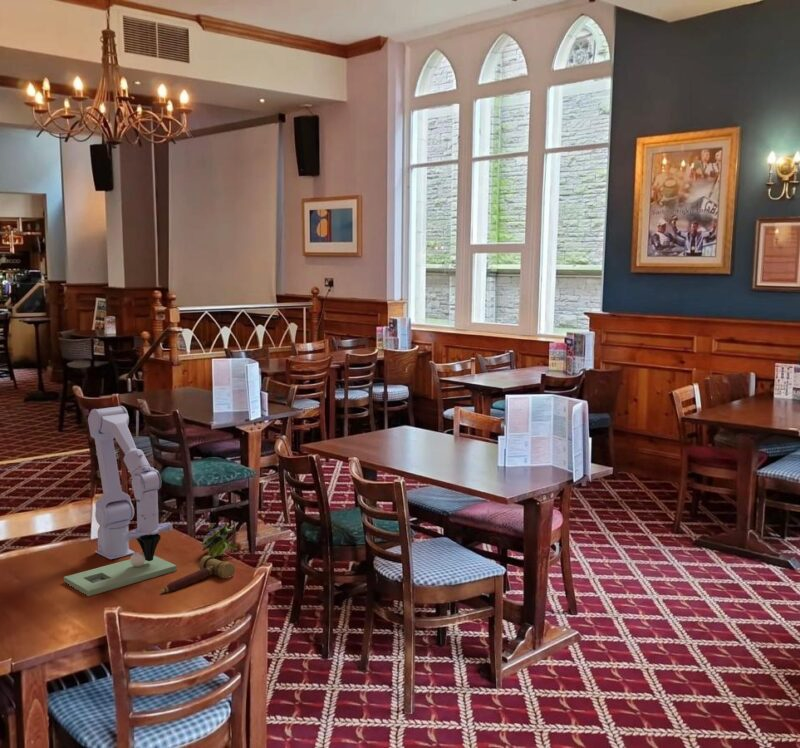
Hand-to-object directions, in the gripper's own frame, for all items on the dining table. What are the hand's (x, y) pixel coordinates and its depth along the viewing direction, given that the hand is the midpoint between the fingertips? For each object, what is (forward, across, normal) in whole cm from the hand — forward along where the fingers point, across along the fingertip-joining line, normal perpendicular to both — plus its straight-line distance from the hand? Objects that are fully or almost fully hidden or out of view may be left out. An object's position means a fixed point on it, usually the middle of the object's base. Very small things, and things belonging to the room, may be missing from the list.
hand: (148, 560), depth 234 cm
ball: (-1, -4, 0) cm, 4 cm away
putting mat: (+2, -8, 0) cm, 9 cm away
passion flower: (+3, +22, -4) cm, 22 cm away
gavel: (+3, +3, -18) cm, 18 cm away
